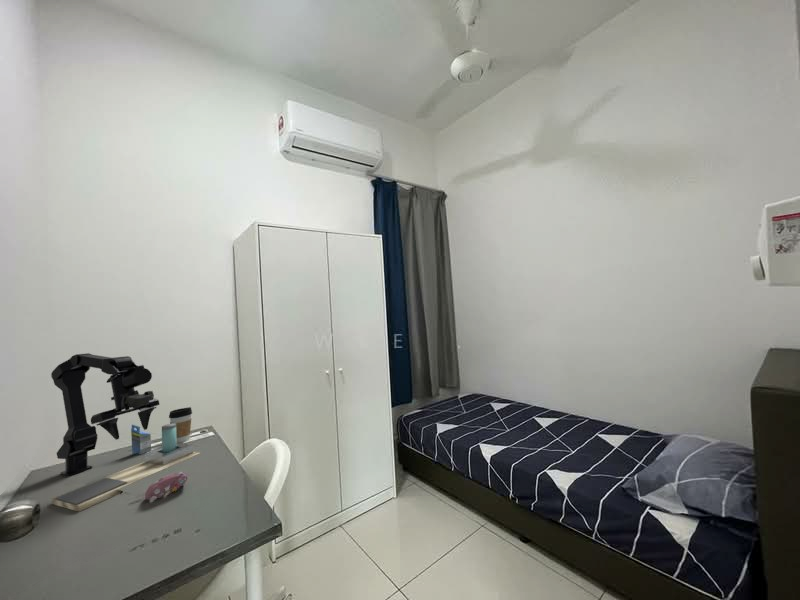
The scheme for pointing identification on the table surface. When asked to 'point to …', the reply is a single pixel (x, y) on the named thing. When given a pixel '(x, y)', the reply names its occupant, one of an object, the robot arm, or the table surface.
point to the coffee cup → (181, 423)
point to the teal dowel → (169, 438)
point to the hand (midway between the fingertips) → (132, 434)
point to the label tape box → (140, 440)
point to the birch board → (124, 475)
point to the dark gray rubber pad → (90, 491)
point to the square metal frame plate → (168, 455)
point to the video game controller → (166, 485)
